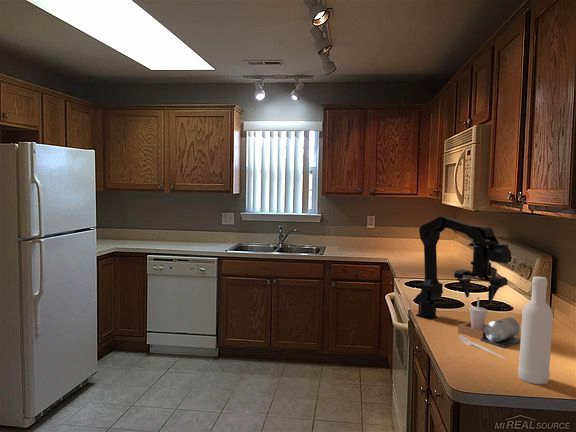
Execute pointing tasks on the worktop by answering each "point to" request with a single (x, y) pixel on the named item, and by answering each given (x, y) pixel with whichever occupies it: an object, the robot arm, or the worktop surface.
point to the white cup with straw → (477, 316)
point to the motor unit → (494, 332)
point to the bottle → (536, 336)
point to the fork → (478, 346)
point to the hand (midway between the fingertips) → (478, 299)
